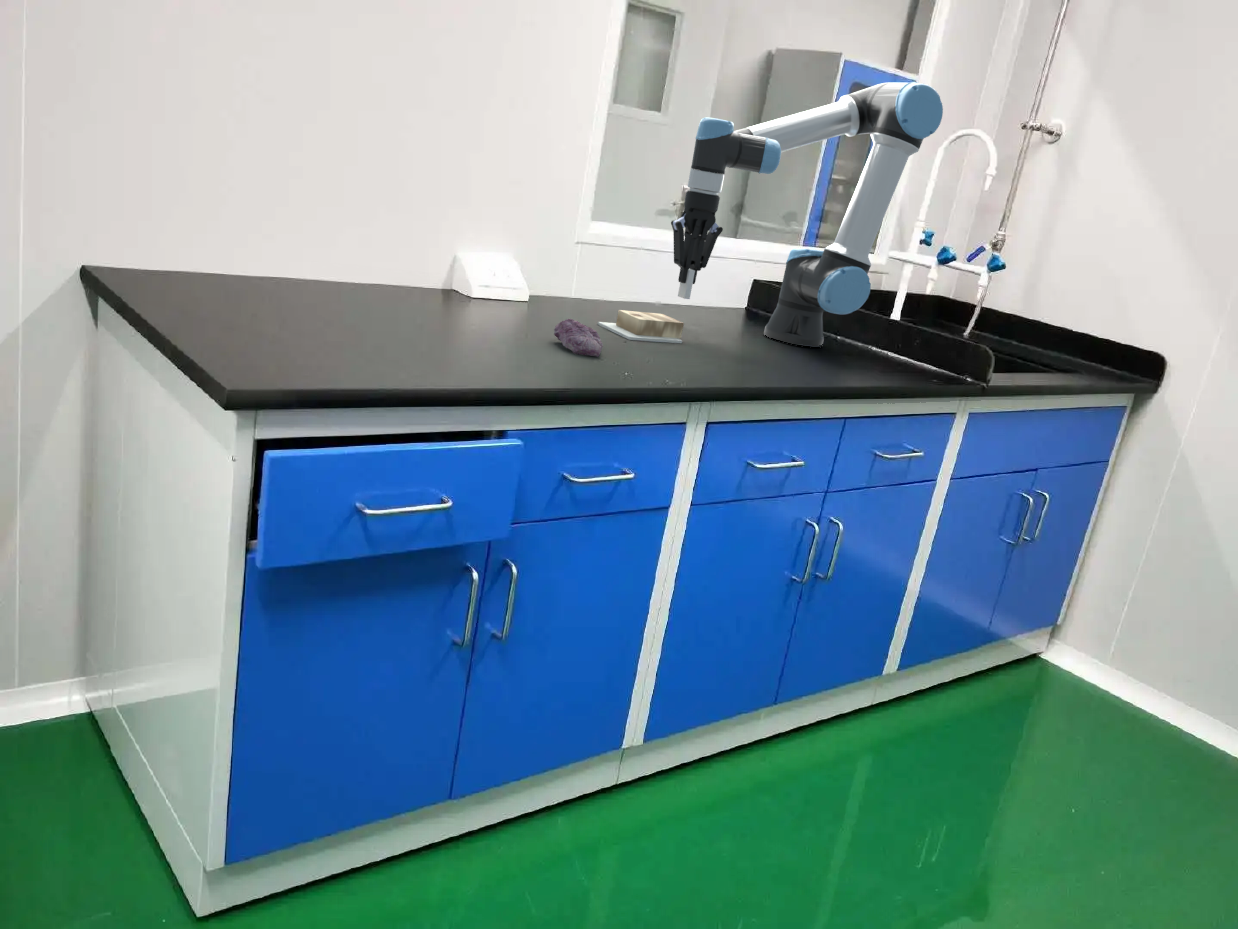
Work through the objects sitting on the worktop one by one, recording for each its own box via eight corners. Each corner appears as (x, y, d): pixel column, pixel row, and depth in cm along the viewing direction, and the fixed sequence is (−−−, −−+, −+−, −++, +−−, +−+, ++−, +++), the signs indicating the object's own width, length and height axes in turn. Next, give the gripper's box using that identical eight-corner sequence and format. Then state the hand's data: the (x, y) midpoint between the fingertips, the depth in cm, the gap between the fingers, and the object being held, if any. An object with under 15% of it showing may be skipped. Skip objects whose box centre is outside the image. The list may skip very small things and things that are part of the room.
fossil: (578, 342, 206) (583, 317, 205) (611, 361, 195) (617, 334, 194) (542, 339, 202) (547, 313, 200) (574, 358, 191) (579, 331, 189)
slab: (662, 313, 234) (618, 309, 227) (684, 322, 227) (639, 319, 220) (659, 328, 235) (615, 325, 228) (680, 338, 228) (636, 334, 221)
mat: (648, 328, 236) (649, 325, 236) (681, 343, 225) (682, 340, 225) (597, 324, 229) (597, 321, 229) (629, 339, 218) (629, 337, 217)
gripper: (717, 193, 229) (697, 296, 236) (670, 185, 222) (651, 292, 229) (737, 197, 223) (716, 303, 230) (689, 190, 216) (669, 299, 223)
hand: (683, 297), depth 229 cm, fingers closed
